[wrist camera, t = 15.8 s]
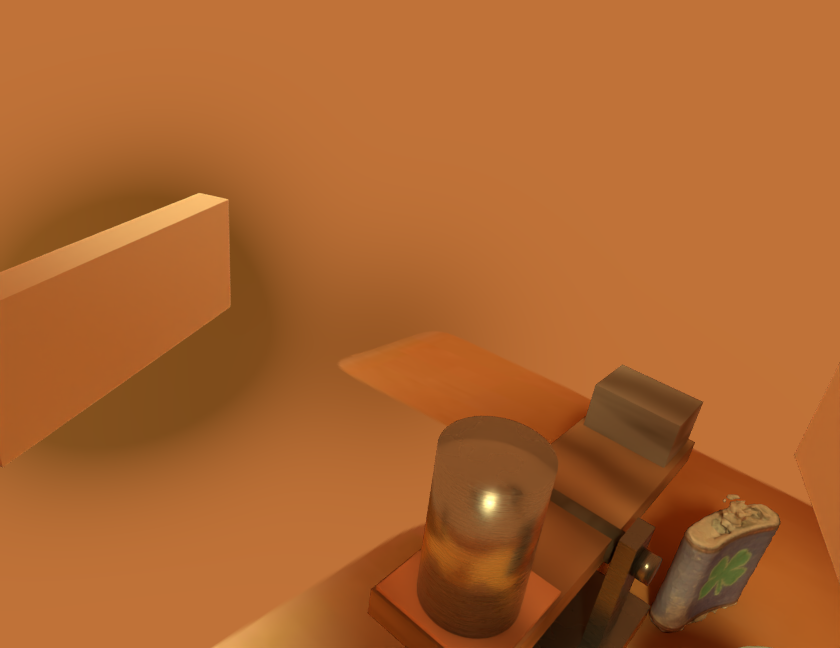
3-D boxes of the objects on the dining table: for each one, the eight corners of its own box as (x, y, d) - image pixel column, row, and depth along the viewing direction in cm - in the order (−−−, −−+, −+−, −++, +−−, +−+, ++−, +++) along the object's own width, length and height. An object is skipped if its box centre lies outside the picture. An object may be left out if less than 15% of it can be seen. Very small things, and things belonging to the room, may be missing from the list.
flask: (665, 639, 48) (714, 533, 43) (637, 607, 50) (681, 503, 45) (746, 602, 52) (799, 502, 47) (716, 574, 54) (764, 476, 49)
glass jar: (503, 546, 40) (533, 414, 35) (536, 632, 34) (577, 491, 30) (408, 553, 38) (426, 417, 34) (428, 644, 33) (453, 498, 29)
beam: (598, 416, 59) (616, 358, 56) (690, 464, 54) (715, 404, 51) (363, 611, 37) (374, 534, 34) (482, 718, 33) (505, 639, 30)
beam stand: (495, 517, 56) (521, 416, 51) (644, 619, 49) (691, 511, 44) (422, 580, 49) (443, 470, 44) (583, 710, 42) (631, 595, 37)
